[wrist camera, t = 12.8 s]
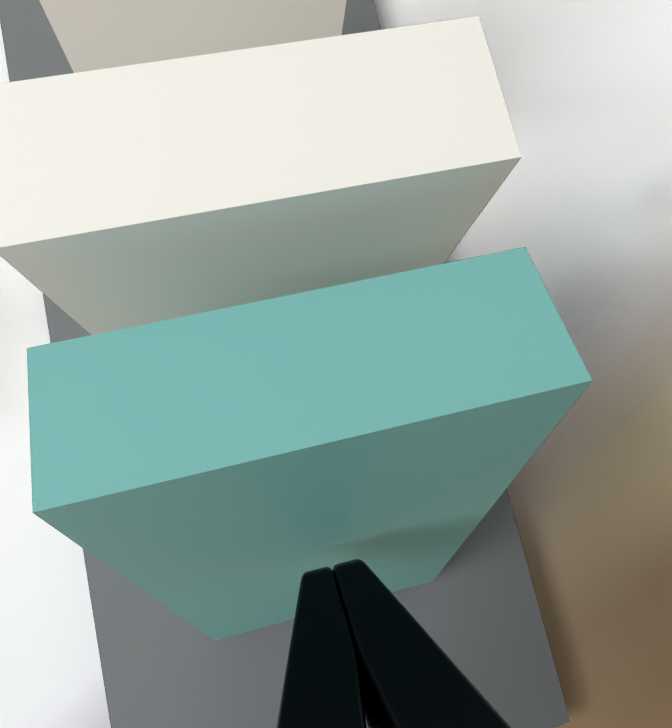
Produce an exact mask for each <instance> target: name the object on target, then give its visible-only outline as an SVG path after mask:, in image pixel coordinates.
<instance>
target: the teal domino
mask: <svg viewBox="0 0 672 728" xmlns="http://www.w3.org/2000/svg"><path fill="white" fill-rule="evenodd" d="M27 365H28V393H29V421H30V450H31V478H32V506H33V513H34V514H35V515H37V516H38V517H40V518H41V519H43V520H44V521H45V522H47V523H48V524H50V525H51V526H52V527H54V528H55V529H57V530H58V531H60V532H61V533H62V534H64V535H65V536H67V537H68V538H70V539H71V540H72V541H74V542H75V543H77V544H78V545H80V546H81V547H82V548H84V549H85V550H87V551H88V552H89V553H91V554H92V555H94V556H95V557H97V558H98V559H99V560H101V561H102V562H104V563H105V564H107V565H108V566H109V567H111V568H112V569H114V570H115V571H117V572H118V573H119V574H121V575H122V576H124V577H125V578H126V579H128V580H129V581H131V582H132V583H134V584H135V585H136V586H138V587H139V588H141V589H142V590H144V591H145V592H146V593H148V594H149V595H151V596H152V597H153V598H155V599H156V600H158V601H159V602H161V603H162V604H163V605H165V606H166V607H168V608H169V609H171V610H172V611H173V612H175V613H176V614H178V615H179V616H181V617H182V618H183V619H185V620H186V621H188V622H189V623H190V624H192V625H193V626H195V627H196V628H198V629H199V630H200V631H202V632H203V633H205V634H206V635H208V636H209V637H210V638H212V639H213V640H219V639H223V638H226V637H230V636H234V635H237V634H241V633H245V632H248V631H252V630H256V629H259V628H263V627H267V626H270V625H274V624H278V623H281V622H285V621H289V620H292V619H294V617H295V611H296V605H297V599H298V593H299V588H300V582H301V577H302V575H303V574H304V573H305V572H307V571H311V570H315V569H319V568H323V567H330V568H331V569H332V571H333V567H334V566H335V565H336V564H339V563H343V562H346V561H350V560H354V559H360V560H362V561H364V562H365V563H366V564H367V565H368V566H369V568H370V569H371V570H372V571H373V572H374V573H375V574H376V576H377V577H378V578H379V579H380V580H381V581H382V582H383V583H384V585H385V586H386V587H387V588H388V589H389V590H390V591H391V592H395V591H399V590H402V589H406V588H410V587H413V586H417V585H421V584H424V583H428V582H432V581H433V580H434V579H435V578H436V576H437V575H438V574H439V572H440V571H441V570H442V569H443V567H444V566H445V565H446V564H447V562H448V561H449V560H450V559H451V557H452V556H453V555H454V554H455V552H456V551H457V550H458V549H459V547H460V546H461V545H462V544H463V542H464V541H465V540H466V539H467V537H468V536H469V535H470V534H471V532H472V531H473V530H474V528H475V527H476V526H477V525H478V523H479V522H480V521H481V520H482V518H483V517H484V516H485V515H486V513H487V512H488V511H489V510H490V508H491V507H492V506H493V505H494V503H495V502H496V501H497V500H498V498H499V497H500V496H501V495H502V493H503V492H504V491H505V490H506V488H507V487H508V486H509V484H510V483H511V482H512V481H513V479H514V478H515V477H516V476H517V474H518V473H519V472H520V471H521V469H522V468H523V467H524V466H525V464H526V463H527V462H528V461H529V459H530V458H531V457H532V456H533V454H534V453H535V452H536V451H537V449H538V448H539V447H540V445H541V444H542V443H543V442H544V440H545V439H546V438H547V437H548V435H549V434H550V433H551V432H552V430H553V429H554V428H555V427H556V425H557V424H558V423H559V422H560V420H561V419H562V418H563V417H564V415H565V414H566V413H567V412H568V410H569V409H570V408H571V407H572V405H573V404H574V403H575V401H576V400H577V399H578V398H579V396H580V395H581V394H582V393H583V391H584V390H585V389H586V388H587V386H588V385H589V384H590V383H591V381H592V378H591V376H590V374H589V372H588V371H587V369H586V367H585V365H584V363H583V361H582V359H581V357H580V355H579V353H578V351H577V349H576V347H575V345H574V343H573V341H572V339H571V337H570V335H569V333H568V331H567V329H566V327H565V325H564V323H563V321H562V319H561V317H560V315H559V313H558V311H557V309H556V307H555V305H554V303H553V301H552V299H551V297H550V295H549V293H548V291H547V289H546V287H545V285H544V283H543V281H542V279H541V277H540V275H539V273H538V271H537V269H536V267H535V265H534V263H533V261H532V260H531V258H530V256H529V254H528V252H527V250H526V248H525V247H523V248H518V249H513V250H508V251H503V252H498V253H493V254H488V255H484V256H479V257H474V258H469V259H464V260H459V261H454V262H449V263H444V264H439V265H434V266H429V267H424V268H420V269H415V270H410V271H405V272H400V273H395V274H390V275H385V276H380V277H375V278H370V279H365V280H360V281H355V282H351V283H346V284H341V285H336V286H331V287H326V288H321V289H316V290H311V291H306V292H301V293H296V294H291V295H287V296H282V297H277V298H272V299H267V300H262V301H257V302H252V303H247V304H242V305H237V306H232V307H227V308H222V309H218V310H213V311H208V312H203V313H198V314H193V315H188V316H183V317H178V318H173V319H168V320H163V321H158V322H154V323H149V324H144V325H139V326H134V327H129V328H124V329H119V330H114V331H109V332H104V333H99V334H94V335H89V336H85V337H80V338H75V339H70V340H65V341H60V342H55V343H50V344H45V345H40V346H35V347H30V348H27Z"/></svg>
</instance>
